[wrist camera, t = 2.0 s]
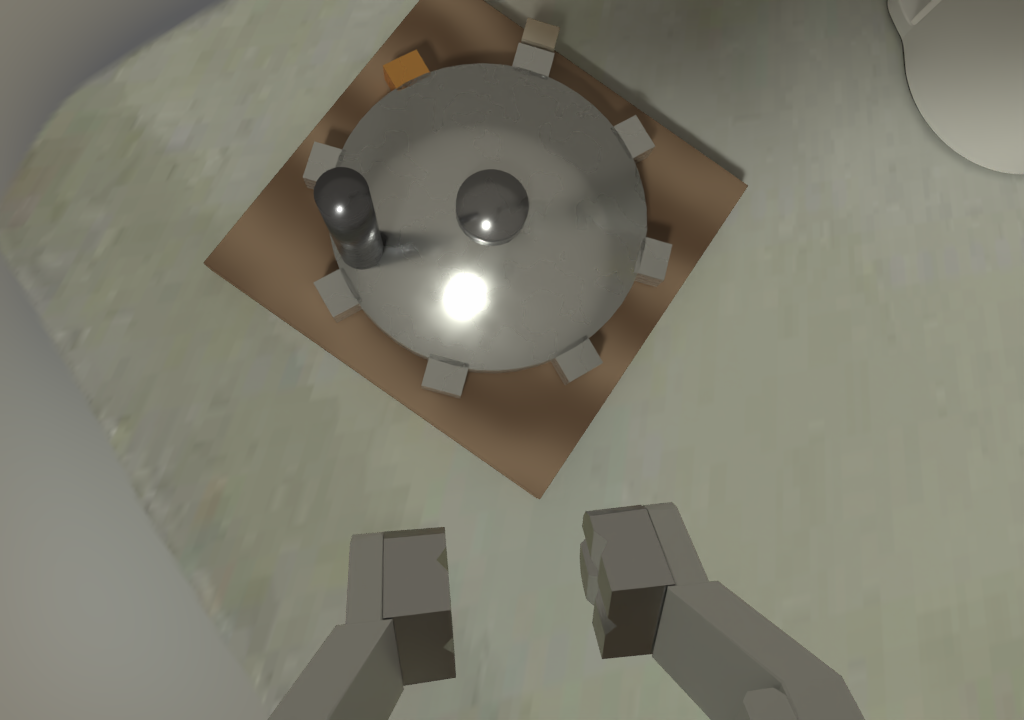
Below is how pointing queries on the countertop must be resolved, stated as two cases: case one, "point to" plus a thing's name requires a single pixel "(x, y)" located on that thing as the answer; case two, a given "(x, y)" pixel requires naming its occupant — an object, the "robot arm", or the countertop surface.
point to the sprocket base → (366, 349)
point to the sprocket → (486, 218)
